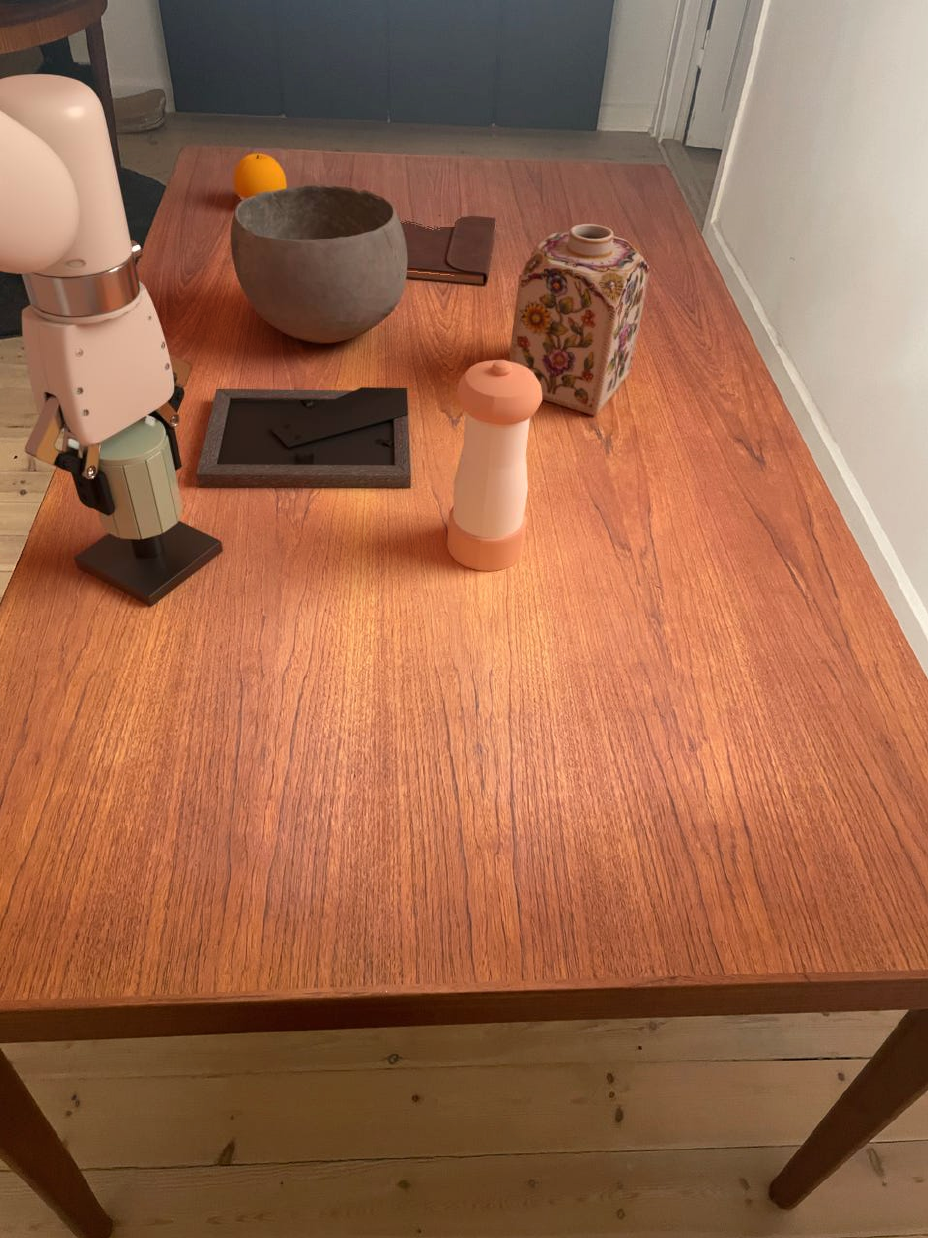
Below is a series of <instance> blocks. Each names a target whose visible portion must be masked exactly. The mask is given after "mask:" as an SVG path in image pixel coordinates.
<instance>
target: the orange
mask: <svg viewBox="0 0 928 1238" xmlns="http://www.w3.org/2000/svg"><path fill="white" fill-rule="evenodd" d="M285 174H286V173H285V172H284V169H283V168H282V167H281V165H280V164H279V162H278V161H277V160H276V159H274V157H272V156H270V155H267V154H264V153H251V154H247V155H245V156H244V157H243V158H242V159H240V160H239V161H238V162H237V164H236V166H235V169H234V172H233V178H232V179H233V180H232V183H233V188H234V192H235V194H236V195H237V194H239V195H240V196H242V197H245V198H250V197H251V196H255V195H256V194H259V193H262V192H266V191H276V190H281V189H286V188H288V187H287V186H288V183H287V177H286V175H285Z"/></svg>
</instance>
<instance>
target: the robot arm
mask: <svg viewBox="0 0 928 1238" xmlns="http://www.w3.org/2000/svg"><path fill="white" fill-rule="evenodd" d="M123 201H124V200H123V196H122V191H121V187H120V183H119V177H118V172H117V167H116V163H115V157H114V154H113V147H112V144H111V138H110V133H109V128H108V124H107V119H106V116H105V111H104V107H103V105H102V101H100V98H99V97H98V96H97V94H96V92H94V90H93V89H92V87H90V86H89V85H86V84H85V82H82V81H80V80H77V79H75V78H72V77H68V76H63V75H58V74H49V73H48V74H46V73H32V74H30V73H29V74H18V75H11V76H7V77H3V78H0V272H3V273H8V274H15V275H18V274H19V275H20V274H21V276H22V280H23V283H24V286H25V287H24V288H25V290H26V294H27V297H28V300H29V305H28V306H26V307H24V308H23V309H22V310H21V331H22V342H23V343H22V344H23V350H24V358H25V362H26V363H25V364H26V368H27V374H28V378H29V383H30V387H31V392H32V395H33V400H34V403H35V407H36V410H37V413H38V418H37V421H36V423H35V425H34V427H33V429H32V431H31V434H30V435H29V438H28V439H27V442H26V444H25V446H24V451H25V453H26V454H27V455H29V456H31V457H32V458H35V459H37V460H39V461H41V462H44V463H46V464H49V465H51V466H53V467H56V468H57V469H60V470H62V471H65V472H67V473H68V472H69V473H71V477H72V481H73V483H74V487H75V489H76V493H77V497H78V499H79V501H80V502H81V504H82V505H83V506H85V507H87V508H89V509H92V510H95V511H96V510H97V511H99V512H101V513H103V514H105V515H107V516H110V515H111V514H113V513H114V512H115V511H114V510H115V506H114V502H113V499H112V495H111V491H110V488H109V484H108V480H107V477H106V474H105V473H104V472H102V471H99V470H98V465H99V458H100V451H101V445H102V441H104V440H106V439H108V438H109V437H111V436H113V435H114V434H116V433H118V432H120V431H121V430H123V429H125V428H126V427H128V426H130V425H131V424H133V423H135V422H136V421H138V420H140V419H141V418H143V417H145V416H146V415H149V416H151V417H154V418H156V419H157V420H159V421H160V422H161V423H162V424H163V426H164V427H165V431H166V435H167V436H168V439H169V444H170V449H171V454H172V459H173V464H174V468H175V472H176V471H178V470H180V469H181V468H182V466H183V465H182V459H181V454H180V449H179V443H178V439H177V434H176V429H175V427H177V426H178V425H179V424H180V420H181V418H180V414H179V413H178V412H179V411H180V410H179V409H180V407H181V405H182V402H183V400H184V398H185V389H184V388H186V386H187V383H188V380H189V378H190V375H191V372H192V364H191V363H189V362H187V361H185V360H183V359H181V358H179V357H176V356H174V355H172V354H170V353H169V348H168V346H167V341H166V338H165V334H164V331H163V328H162V325H161V322H160V319H159V316H158V313H157V310H156V308H155V306H154V303H153V300H152V298H151V297H150V294H149V292H148V290H147V288H146V286H145V284H144V283H142V282H141V281H140V278H139V274H138V270H137V265H136V262H137V260H139V259H141V258H142V257H143V250H142V248H141V245H140V244H139V243H138V242H137V241H135V240H133V239H132V240H131V235H130V229H129V226H128V221H127V216H126V210H125V206H124V202H123ZM62 430H63V437H62V444H61V449H58V448H57V447H56V443H57V440H58V438H59V436H60V434H61V433H62ZM80 445H81V446H84V449H83V456H82V458H81V457H78V454H79V447H80ZM97 511H96V512H97Z"/></svg>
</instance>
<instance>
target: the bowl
mask: <svg viewBox="0 0 928 1238" xmlns="http://www.w3.org/2000/svg"><path fill="white" fill-rule="evenodd" d="M230 249H231V258H232V261H233V262H232V263H233V267H234V271H235V275H236V278H237V280H238V283H239V285H240V287H241V290H242V291H243V294H244V295H245V297H246V299H247V301H248V302H249V304H250V305H251V307H252V308H253V309H254V310H255V312H256V313H257V314H258V315H259V316H260V317H261V318H262V319H263V320H265V322H266V323H268V324H269V325H271V326H272V327H273V328H275V329H277V330H278V331H280V332H282V333H283V334H285V335H286V336H287V335H288V336H289V337H291V338H294V339H297V340H301V341H305V342H308V343H312V344H334V343H339V342H343V341H347V340H350V339H353V338H354V337H358V336H361V335H364V334H366V333H367V332H369V331H371V330H372V329H374V328H375V327H377V326H378V325H379V324H380V323H381V322H383V321H384V320H385V319H386V318H387V317H388V316H389V315H391V314H392V312H394V310H395V309H396V307H397V306H398V305H399V302H400V301H401V299H402V298H403V297H402V296H403V295H404V292H405V287H406V283H407V282H406V281H407V279H406V276H407V262H408V260H407V248H406V241H405V237H404V232H403V229H402V226H401V223H400V220H399V215H398V213H397V210H396V209H395V207H394V205H393V204H392V203H391V202H390V201H389V200H387V199H385V198H384V197H382V196H381V195H378V194H376V193H374V192H372V191H370V190H366V189H362V190H358V189H356V188H353V187H345V186H336V185H330V186H328V185H325V184H306V185H305V184H304V185H297V186H296V185H295V186H292V187H286V189H281V190H276V191H266V192H262V193H259V194H256V195H255V196H251V197H250V198H246V199H244V200H243V201H241V200H240V202H239V203H238V204H237V205H236V207H235V209H234V212H233V215H232V218H231V225H230Z"/></svg>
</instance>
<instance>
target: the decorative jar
mask: <svg viewBox="0 0 928 1238" xmlns="http://www.w3.org/2000/svg"><path fill="white" fill-rule="evenodd" d="M649 265H650V264H648V263H647V261H646V260H645V259H644V256H643V254H642V253H641V252H640V251H639V250H637V248H635V246H634V245H632V244H631V243H630V242H629V241H628V240H627V239H625V238H622V237H620V236H619V237H618V236H615V235H614V232H613V230H612V229H610V228H609V227H607V226H604V225H600V224H596V223H582V224H576V225H574V226H572V227H571V228H570V229H569V231H561V232H552V233H550V234H548V235H547V236H545V237H544V238H543V239H541V240H540V241H539V242H538V243H537V244H536V246H535V247H534V249H533V251H532V252H531V253H530V257H529V258H528V260H527V261H526V263H525V265H524V268H523V270H522V272H521V274H519V275H518V281H517V282H518V286H517V293H516V300H515V308H514V314H513V324H512V330H511V331H512V332H511V341H510V352H509V360H508V361H509V362H514V363H518V364H520V365H522V366H525V367H527V368H528V369H529V370H531V371H532V372H533V373H534V375H535V376H536V378H537V380H538V381H539V383H540V385H541V389H542V401H547V402H548V403H549V402H550V403H552V404H556V405H559V406H562V407H565V408H567V409H571V410H574V411H577V412H581V413H584V414H587V415H590V416H594V417H596V416H598V414H600V412H601V411H602V409H603V408H604V407H605V406H606V405H607V404H608V402H609V401H610V399H611V398H612V397H613V396H614V394H615V393H616V391H617V390H618V389H619V388H620V386H621V384H622V383H623V382H624V381H625V380H626V379H627V377H628V376H629V374H630V372H631V369H632V364H633V360H634V355H635V350H636V345H637V341H638V336H639V330H640V325H641V319H642V314H643V309H644V305H645V299H646V292H647V288H648V287H647V285H648V281H649V276H650V272H651V268H650V266H649Z"/></svg>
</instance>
